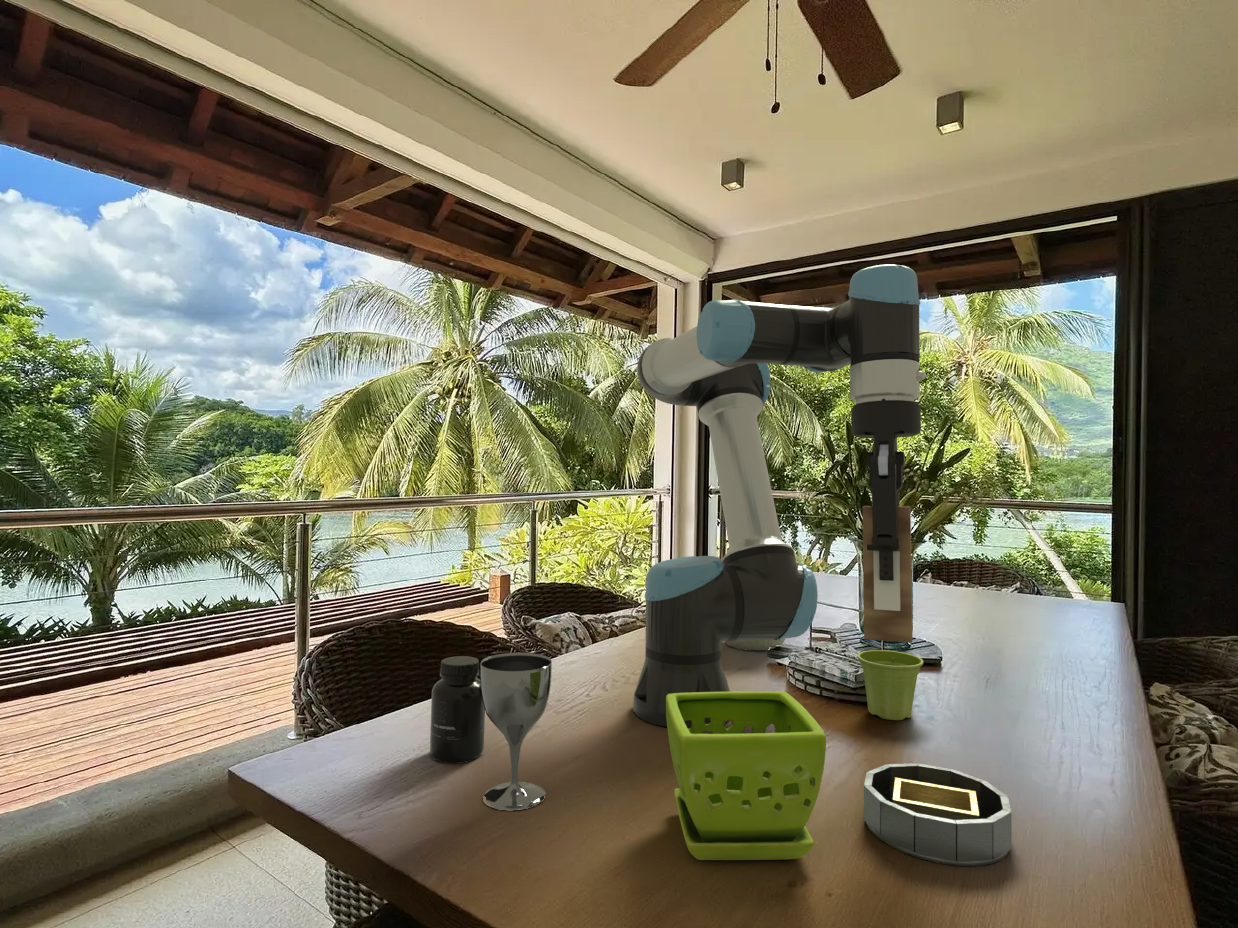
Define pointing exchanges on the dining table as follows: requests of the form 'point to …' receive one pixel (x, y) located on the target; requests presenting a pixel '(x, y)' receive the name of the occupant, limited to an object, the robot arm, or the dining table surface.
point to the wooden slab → (900, 622)
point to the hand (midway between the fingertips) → (888, 606)
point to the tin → (937, 814)
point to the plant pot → (890, 682)
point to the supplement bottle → (457, 712)
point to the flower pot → (745, 773)
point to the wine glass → (515, 716)
